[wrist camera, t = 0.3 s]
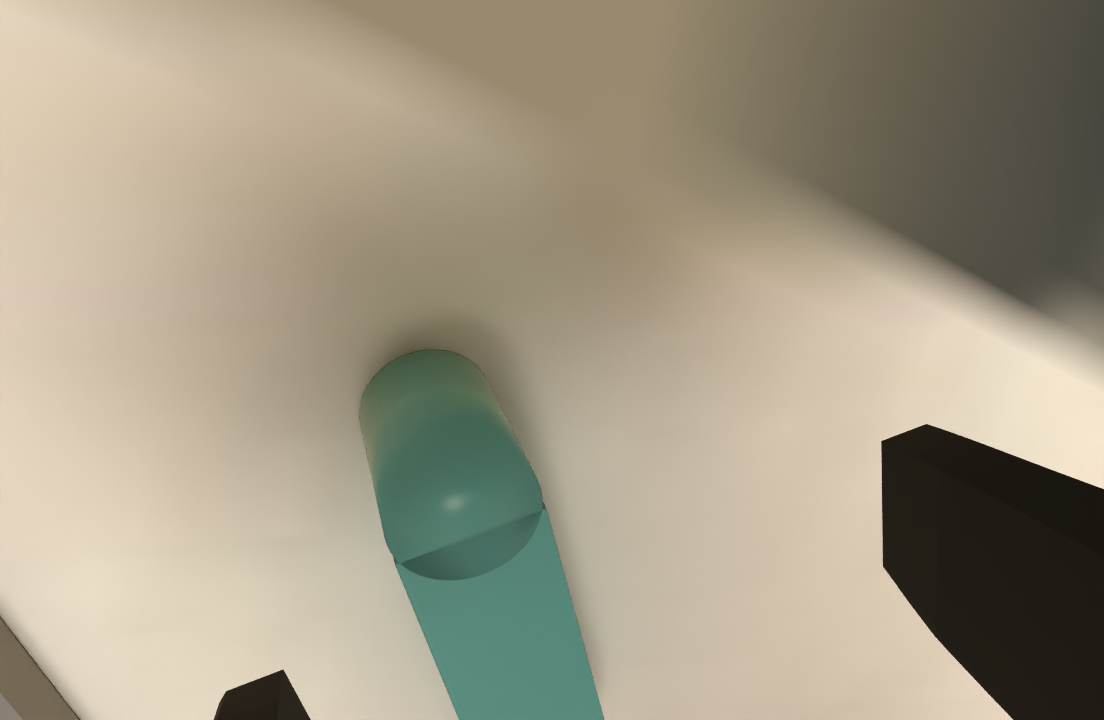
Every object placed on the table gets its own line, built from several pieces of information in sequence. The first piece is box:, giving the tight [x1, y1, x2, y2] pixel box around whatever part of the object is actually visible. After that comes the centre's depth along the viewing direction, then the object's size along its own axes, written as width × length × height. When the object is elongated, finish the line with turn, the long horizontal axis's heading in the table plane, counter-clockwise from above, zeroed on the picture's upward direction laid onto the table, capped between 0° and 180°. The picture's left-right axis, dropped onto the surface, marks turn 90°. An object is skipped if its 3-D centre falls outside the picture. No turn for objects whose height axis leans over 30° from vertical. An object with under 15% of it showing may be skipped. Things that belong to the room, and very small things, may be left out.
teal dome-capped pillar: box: [360, 350, 604, 720], centre depth 20 cm, size 13×3×4 cm, turn 12°
